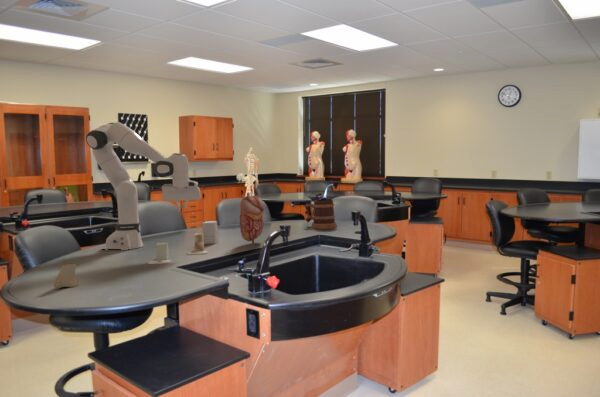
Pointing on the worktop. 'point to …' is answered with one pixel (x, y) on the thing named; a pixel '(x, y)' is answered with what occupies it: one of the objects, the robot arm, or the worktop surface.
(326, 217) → the mug
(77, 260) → the worktop surface
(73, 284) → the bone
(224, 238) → the worktop surface
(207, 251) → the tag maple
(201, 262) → the worktop surface
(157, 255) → the sage block
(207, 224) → the supplement box
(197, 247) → the maple block
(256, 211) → the anatomical model
